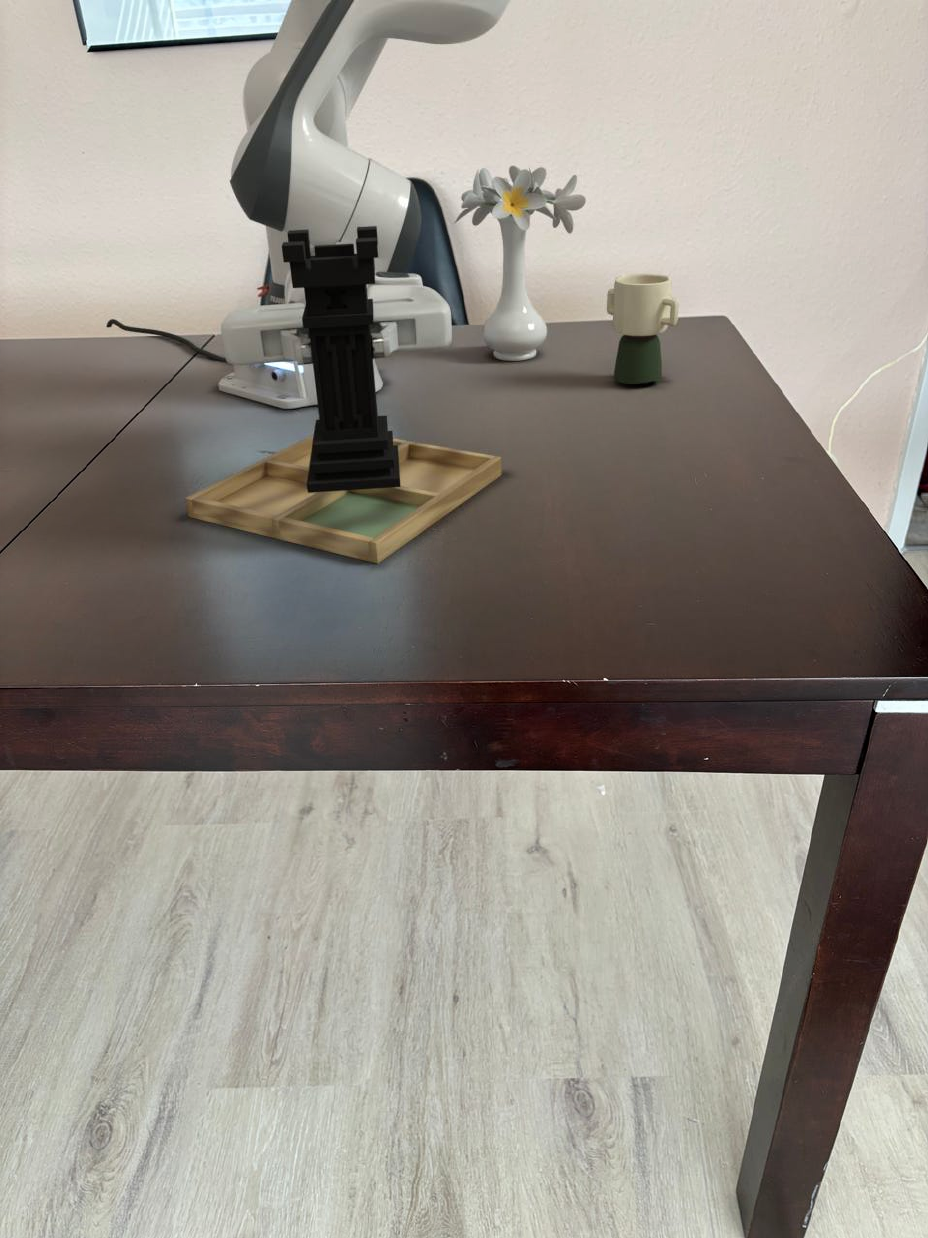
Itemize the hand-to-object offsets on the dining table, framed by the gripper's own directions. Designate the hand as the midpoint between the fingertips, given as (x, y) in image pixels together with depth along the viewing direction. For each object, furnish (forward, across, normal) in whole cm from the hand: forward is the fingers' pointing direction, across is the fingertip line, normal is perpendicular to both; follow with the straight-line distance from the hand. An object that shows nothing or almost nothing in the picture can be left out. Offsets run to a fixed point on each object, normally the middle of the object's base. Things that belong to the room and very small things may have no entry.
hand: (343, 351), depth 79 cm
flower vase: (-55, +28, +17) cm, 64 cm away
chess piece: (-1, 0, +11) cm, 11 cm away
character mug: (-37, +40, +17) cm, 57 cm away
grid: (-9, 0, +17) cm, 19 cm away
